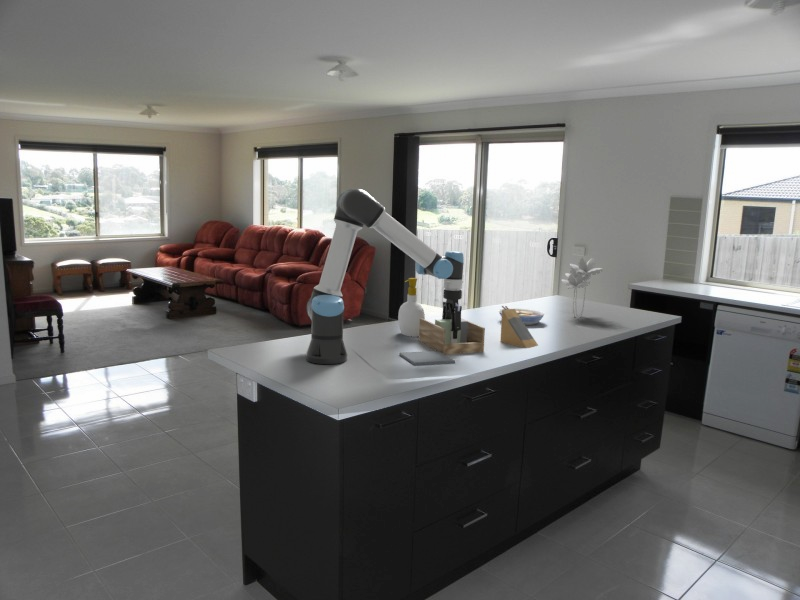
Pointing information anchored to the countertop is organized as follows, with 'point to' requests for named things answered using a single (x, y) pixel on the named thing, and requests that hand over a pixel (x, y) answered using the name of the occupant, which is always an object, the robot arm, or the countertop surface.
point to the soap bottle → (410, 312)
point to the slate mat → (426, 357)
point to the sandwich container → (515, 330)
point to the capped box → (448, 326)
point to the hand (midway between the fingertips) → (450, 344)
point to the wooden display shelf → (436, 340)
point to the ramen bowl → (527, 315)
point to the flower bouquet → (580, 277)
